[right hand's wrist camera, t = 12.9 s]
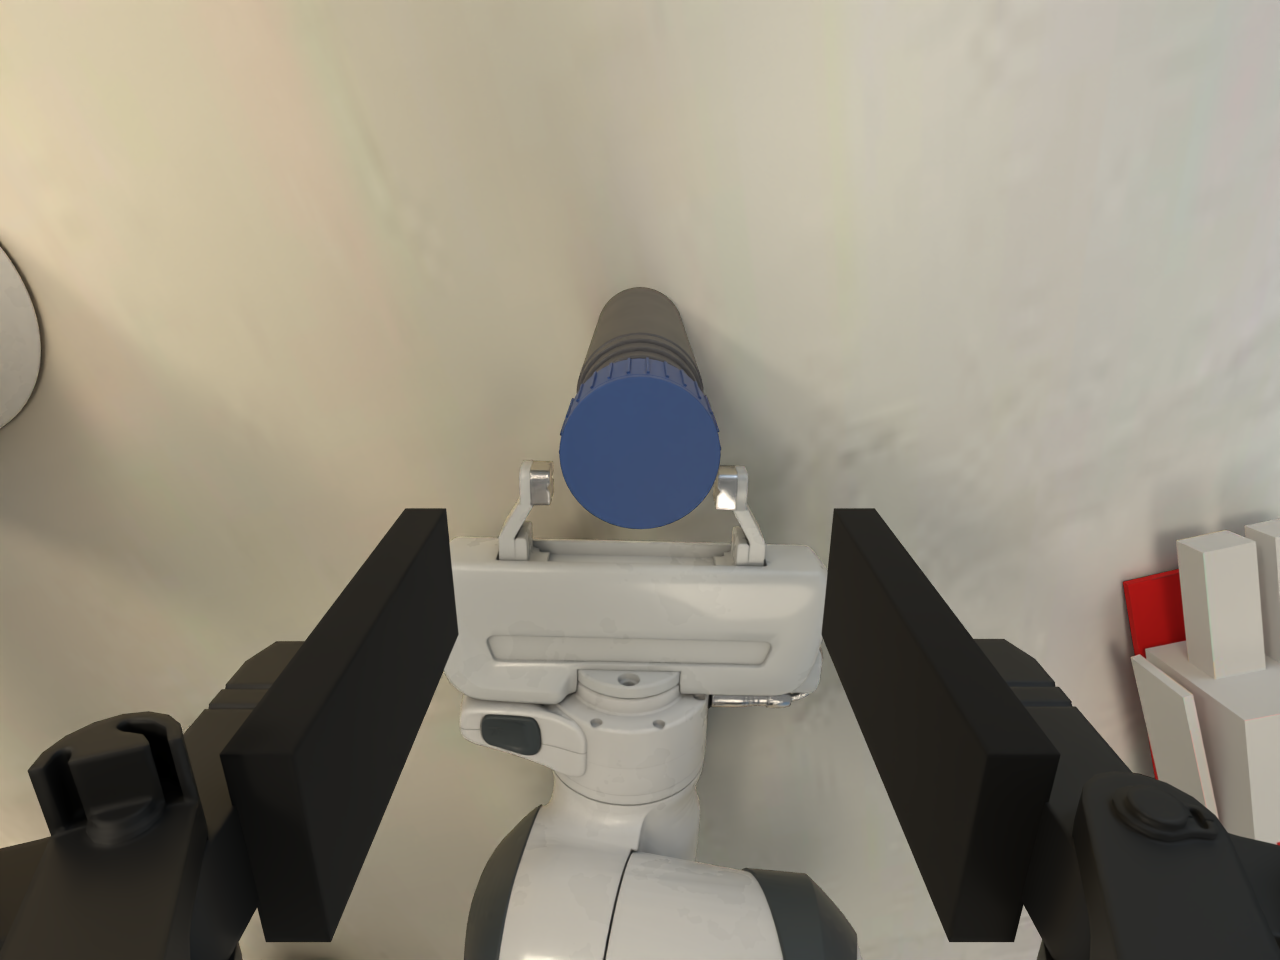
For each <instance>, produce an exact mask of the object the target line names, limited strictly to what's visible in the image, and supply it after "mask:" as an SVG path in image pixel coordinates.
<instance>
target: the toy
mask: <svg viewBox="0 0 1280 960" xmlns="http://www.w3.org/2000/svg"><path fill="white" fill-rule="evenodd" d="M1244 527H1245V537H1243V536H1241V535H1238V534H1236V533H1233V532H1231V531H1228V530H1223V531H1218V532H1213V533H1209V534H1204V535H1199V536H1195V537H1190V538H1186V539H1181V540H1176V546H1177V555H1178V565H1179V569H1176V570H1171V571H1167V572H1163V573H1159V574H1154V575H1150V576H1146V577H1141V578H1137V579H1133V580H1129V581H1124V582H1123V586H1124V593H1125V599H1126V605H1127V611H1128V617H1129V623H1130V629H1131V635H1132V641H1133V647H1134V653H1135V656H1132V657H1131V661H1132V666H1133V670H1134V675H1135V679H1136V683H1137V688H1138V692H1139V696H1140V701H1141V705H1142V710H1143V714H1144V718H1145V723H1146V727H1147V732H1148V738H1149V744H1150V750H1151V757H1152V763H1153V769H1154V775H1155V779H1157V780H1160V781H1163V782H1166V783H1168V784H1170V785H1172V786H1174V787H1176V788H1177V789H1179V790H1181V791H1183V792H1185V793H1187V794H1189V795H1190V796H1192V797H1194V798H1195V799H1196V800H1198V801H1199V802H1200V803H1201V804H1202V805H1204V806H1205V807H1206V808H1207V809H1209V810H1210V811H1211V812H1212V813H1213V814H1215V815H1216V817H1217V818H1218V819H1219V821H1220V822H1221V824H1222V825H1223V827H1224V828H1225V829H1226V831H1227V832H1228V833H1231V834H1234V835H1237V836H1241V837H1246V838H1250V839H1254V840H1259V841H1263V842H1267V843H1272V844H1276V845H1280V518H1278V519H1274V520H1269V521H1264V522H1260V523H1255V524H1250V525H1246V526H1244Z"/></svg>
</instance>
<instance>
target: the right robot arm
mask: <svg viewBox="0 0 1280 960" xmlns="http://www.w3.org/2000/svg"><path fill="white" fill-rule="evenodd" d="M458 635H459V633H458V623H457V613H456V604H455V594H454V584H453V574H452V564H451V554H450V544H449V534H448V524H447V514H446V509H405V510H404V511H403V512H402V514H401V515H400V516H399V518H398V519H397V520H396V522H395V523H394V524H393V526H392V527H391V528H390V530H389V531H388V532H387V533H386V535H385V536H384V537H383V539H382V540H381V541H380V543H379V544H378V545H377V547H376V548H375V549H374V551H373V552H372V553H371V555H370V556H369V557H368V559H367V560H366V561H365V563H364V564H363V565H362V567H361V568H360V569H359V571H358V572H357V573H356V574H355V576H354V577H353V578H352V580H351V581H350V582H349V584H348V585H347V586H346V588H345V589H344V590H343V592H342V593H341V594H340V596H339V597H338V598H337V600H336V601H335V602H334V604H333V605H332V606H331V608H330V609H329V610H328V612H327V613H326V614H325V615H324V617H323V618H322V619H321V621H320V622H319V623H318V625H317V626H316V627H315V629H314V630H313V631H312V633H311V634H310V635H309V637H308V638H307V639H306V641H276V642H275V643H273V644H272V645H270V646H269V647H267V648H265V649H264V650H262V651H261V652H259V653H258V654H256V655H255V656H253V657H252V658H250V659H248V660H247V661H245V663H244V664H243V665H242V666H241V667H240V669H239V670H238V671H237V672H236V673H235V674H234V676H233V677H232V678H231V679H230V680H229V681H228V683H227V684H226V688H225V689H222V690H221V691H220V692H219V693H218V694H217V696H216V697H215V698H214V699H213V700H212V701H211V703H210V704H209V709H205V710H204V711H203V712H202V713H201V714H200V716H199V717H198V718H197V719H196V720H195V721H194V723H193V724H192V725H191V726H190V727H189V728H188V730H187V731H186V732H185V733H184V734H183V733H182V729H181V725H180V723H178V722H177V721H176V720H175V719H173V718H172V717H171V716H169V715H166V714H160V713H154V712H139V713H130V714H122V715H118V716H115V717H111V718H108V719H105V720H101V721H98V722H94V723H92V724H90V725H88V726H86V727H84V728H82V729H79V730H77V731H75V732H73V733H71V734H69V735H67V736H65V737H64V738H62V739H61V740H60V741H58V742H57V743H55V744H54V745H53V746H51V747H50V748H48V749H47V750H46V751H44V752H43V753H42V754H41V755H40V756H39V758H38V759H37V760H36V761H35V762H34V764H33V765H32V766H31V767H30V768H29V770H28V773H29V776H30V779H31V782H32V784H33V787H34V790H35V792H36V795H37V798H38V801H39V803H40V806H41V809H42V812H43V814H44V817H45V820H46V823H47V825H48V828H49V831H50V833H51V837H47V838H44V839H40V840H36V841H31V842H27V843H23V844H18V845H14V846H10V847H5V848H1V849H0V960H242V953H241V950H240V946H239V940H240V938H241V936H242V934H243V932H244V931H245V929H246V927H247V925H248V923H249V921H250V919H251V918H252V916H253V914H254V912H255V910H256V908H258V912H259V916H260V920H261V924H262V928H263V932H264V936H265V940H266V942H331V940H332V938H333V935H334V933H335V930H336V928H337V926H338V923H339V921H340V918H341V916H342V914H343V911H344V909H345V906H346V904H347V902H348V899H349V897H350V894H351V892H352V890H353V887H354V885H355V882H356V880H357V878H358V875H359V873H360V870H361V868H362V866H363V863H364V861H365V858H366V856H367V854H368V851H369V849H370V846H371V844H372V842H373V839H374V837H375V834H376V832H377V829H378V827H379V825H380V822H381V820H382V817H383V815H384V813H385V810H386V808H387V805H388V803H389V801H390V798H391V796H392V793H393V791H394V789H395V786H396V784H397V781H398V779H399V777H400V774H401V772H402V769H403V767H404V765H405V762H406V760H407V757H408V755H409V753H410V750H411V748H412V745H413V743H414V741H415V738H416V736H417V733H418V731H419V728H420V726H421V724H422V721H423V719H424V716H425V714H426V712H427V709H428V707H429V704H430V702H431V700H432V697H433V695H434V692H435V690H436V688H437V685H438V683H439V680H440V678H441V676H442V673H443V671H444V668H445V666H446V664H447V661H448V659H449V656H450V654H451V652H452V649H453V647H454V644H455V642H456V640H457V637H458ZM821 635H822V637H823V640H824V642H825V644H826V647H827V649H828V652H829V654H830V656H831V659H832V661H833V664H834V666H835V668H836V671H837V673H838V676H839V678H840V680H841V683H842V685H843V688H844V690H845V692H846V695H847V697H848V700H849V702H850V704H851V707H852V709H853V712H854V714H855V716H856V719H857V721H858V724H859V726H860V729H861V731H862V733H863V736H864V738H865V741H866V743H867V745H868V748H869V750H870V753H871V755H872V757H873V760H874V762H875V765H876V767H877V769H878V772H879V774H880V777H881V779H882V781H883V784H884V786H885V789H886V791H887V793H888V796H889V798H890V801H891V803H892V805H893V808H894V810H895V813H896V815H897V817H898V820H899V822H900V825H901V827H902V830H903V832H904V834H905V837H906V839H907V842H908V844H909V846H910V849H911V851H912V854H913V856H914V858H915V861H916V863H917V866H918V868H919V870H920V873H921V875H922V878H923V880H924V882H925V885H926V887H927V890H928V892H929V894H930V897H931V899H932V902H933V904H934V906H935V909H936V911H937V914H938V916H939V918H940V921H941V923H942V926H943V928H944V931H945V933H946V935H947V938H948V940H949V942H1014V940H1015V936H1016V932H1017V928H1018V924H1019V920H1020V916H1021V912H1022V908H1023V905H1024V906H1025V908H1026V910H1027V912H1028V914H1029V916H1030V917H1031V919H1032V921H1033V923H1034V925H1035V927H1036V928H1037V930H1038V932H1039V934H1040V936H1041V938H1042V942H1041V946H1040V950H1039V953H1038V957H1037V960H1280V845H1276V844H1272V843H1267V842H1263V841H1259V840H1254V839H1250V838H1246V837H1241V836H1237V835H1234V834H1231V833H1228V832H1227V831H1226V829H1225V828H1224V827H1223V825H1222V824H1221V822H1220V821H1219V819H1218V818H1217V817H1216V815H1215V814H1213V813H1212V812H1211V811H1210V810H1209V809H1207V808H1206V807H1205V806H1204V805H1202V804H1201V803H1200V802H1199V801H1198V800H1196V799H1195V798H1194V797H1192V796H1190V795H1189V794H1187V793H1185V792H1183V791H1181V790H1179V789H1177V788H1176V787H1174V786H1172V785H1170V784H1168V783H1166V782H1163V781H1160V780H1157V779H1154V778H1151V777H1148V776H1145V775H1142V774H1137V773H1132V772H1131V770H1130V769H1129V768H1128V767H1127V766H1126V765H1125V763H1124V762H1123V761H1122V760H1121V759H1120V758H1119V756H1118V755H1117V754H1116V753H1115V752H1114V751H1113V749H1112V748H1111V747H1110V746H1109V745H1108V744H1107V742H1106V741H1105V740H1104V739H1103V738H1102V737H1101V735H1100V734H1099V733H1098V732H1097V731H1096V730H1095V728H1094V727H1093V726H1092V725H1091V724H1090V723H1089V721H1088V720H1087V719H1086V718H1085V717H1084V716H1083V714H1082V713H1081V712H1080V711H1079V710H1078V709H1077V707H1072V704H1071V700H1070V699H1069V698H1068V697H1067V696H1066V695H1065V693H1064V692H1063V691H1062V690H1061V689H1060V688H1059V687H1055V682H1054V681H1053V679H1052V678H1051V677H1050V676H1049V675H1048V674H1047V672H1046V671H1045V670H1044V669H1043V668H1042V667H1041V665H1040V664H1039V663H1038V662H1037V661H1036V660H1035V659H1034V658H1033V657H1031V656H1030V655H1028V654H1027V653H1025V652H1023V651H1022V650H1020V649H1019V648H1017V647H1016V646H1014V645H1013V644H1011V643H1009V642H1008V641H1006V640H1005V639H973V638H972V637H971V635H970V634H969V633H968V631H967V630H966V629H965V627H964V626H963V625H962V623H961V622H960V621H959V619H958V618H957V617H956V615H955V614H954V613H953V612H952V610H951V609H950V608H949V606H948V605H947V604H946V602H945V601H944V600H943V598H942V597H941V596H940V594H939V593H938V592H937V590H936V589H935V588H934V586H933V585H932V584H931V582H930V581H929V580H928V578H927V577H926V576H925V574H924V573H923V572H922V571H921V569H920V568H919V567H918V565H917V564H916V563H915V561H914V560H913V559H912V557H911V556H910V555H909V553H908V552H907V551H906V549H905V548H904V547H903V545H902V544H901V543H900V541H899V540H898V539H897V537H896V536H895V535H894V533H893V532H892V531H891V530H890V528H889V527H888V526H887V524H886V523H885V522H884V520H883V519H882V518H881V516H880V515H879V514H878V512H877V511H876V510H875V509H834V514H833V524H832V534H831V544H830V554H829V564H828V573H827V583H826V593H825V603H824V613H823V623H822V633H821Z"/></svg>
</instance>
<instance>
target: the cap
mask: <svg viewBox="0 0 1280 960" xmlns="http://www.w3.org/2000/svg"><path fill="white" fill-rule="evenodd" d="M717 432H719V429H718V426H717V423H716V420H715V417H714V414H713V412H712V410H711V407H710V404H709V401H708V398H707V396H706V395H705V396H704V394H703V393H702V391H701V390H700V388H699V387H698V384H697V382H696V381H693V380H692V379H691V378H690V377H689V376H687V375H686V374H685V373H684V371H683V370H682V369H681V370H679V369H678V368H676V367H674V366H672V365H670V364H667V362H666V361H664V362H661V361H658V360H652V359H649V358H647V357H646V359H642V358H637V359H630V358H628V359H627V360H623V361H619V362H616V363H610V365H608V366H606V367H604V368H602V369H601V370H599V371H598V372H596V371H595V372H594V374H593V375H592V376H591V377H590V378H589V379H588V380H587V381H586V382H585V383H584V384H583V383H582V384H581V386H580V389H579V391H578V393H577V394H576V396H575V398H572V400H571V403H570V406H569V409H568V412H567V415H566V418H565V421H564V424H563V427H562V430H561V433H560V435H561V442H560V450H559V454H560V464H561V469H562V473H563V477H564V479H565V481H566V484H567V486H568V488H569V489H570V491H571V493H572V494H573V496H574V497H575V498H576V500H577V501H578V502H579V503H580V504H581V505H582V506H583V507H584V508H585V509H586V510H588V511H589V512H590V513H591V514H593V515H594V516H596V517H598V518H599V519H601V520H603V521H605V522H608V523H610V524H613V525H616V526H620V527H624V528H630V529H649V528H656V527H661V526H664V525H667V524H670V523H672V522H675V521H677V520H679V519H681V518H682V517H684V516H686V515H687V514H689V513H690V512H691V511H692V510H694V509H695V508H696V507H697V506H698V505H699V504H700V503H701V502H702V501H703V500H704V498H705V497H706V496H707V494H708V493H709V491H710V489H711V488H712V486H713V484H714V481H715V479H716V476H717V473H718V469H719V465H720V450H721V446H720V442H719V436H718V433H717Z"/></svg>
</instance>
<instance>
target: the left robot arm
mask: <svg viewBox="0 0 1280 960" xmlns="http://www.w3.org/2000/svg"><path fill="white" fill-rule="evenodd" d="M40 359H41V342H40V333H39V326H38V322H37V317H36V314H35V310H34V307H33V304H32V301H31V299H30V296H29V294H28V291H27V289H26V287H25V285H24V283H23V281H22V279H21V277H20V275H19V273H18V272H17V270H16V268H15V267H14V265H13V263H12V262H11V260H10V259H9V257H8V256H7V255H6V253H5V252H4V251H3V249H2V248H1V247H0V428H2V427H3V426H4V425H6V424H7V423H8V422H10V421H11V420H12V419H13V418H14V417H15V416H16V415H17V414H18V413H19V412H20V411H21V409H22V408H23V407H24V405H25V404H26V402H27V401H28V399H29V398H30V396H31V394H32V391H33V389H34V387H35V384H36V381H37V377H38V373H39V367H40ZM553 472H554V465H553V461H533V460H523V462H522V465H521V467H520V476H519V484H520V497H519V498H518V500H517V502H516V503H515V505H514V507H513V508H512V510H511V512H510V513H509V515H508V517H507V518H506V520H505V523H504V525H503V527H502V530H501V532H500V535H499V537H465V536H461V537H455V538H453V539H452V540H451V541H450V542H449V544H450V554H451V564H452V574H453V584H454V594H455V604H456V613H457V623H458V633H459V635H458V637H457V640H456V642H455V644H454V647H453V649H452V652H451V654H450V656H449V659H448V661H447V664H446V666H445V668H444V673H445V675H446V677H447V678H448V680H449V681H450V683H451V684H452V685H453V686H454V687H455V688H456V689H457V690H458V691H460V692H461V693H463V699H462V703H461V710H460V719H459V725H460V732H461V734H462V736H463V737H464V738H465V739H466V740H468V741H470V742H472V743H475V744H478V745H481V746H484V747H488V748H492V749H495V750H499V751H502V752H506V753H509V754H512V755H515V756H519V757H522V758H525V759H527V760H530V761H533V762H536V763H538V764H541V765H543V766H546V767H548V768H550V769H552V771H553V775H554V788H553V793H552V797H551V800H550V802H549V803H548V804H547V805H545V806H543V805H542V804H541V805H539V806H538V807H536V808H535V809H534V810H532V811H531V812H530V813H529V814H528V815H527V816H525V817H524V818H523V819H522V820H521V821H520V822H519V823H518V825H517V826H516V827H515V828H514V829H513V830H512V831H511V832H510V833H509V834H508V835H507V836H506V837H505V838H504V839H503V840H502V841H501V843H500V844H499V845H498V847H497V848H496V849H495V851H494V852H493V854H492V855H491V857H490V859H489V861H488V862H487V864H486V866H485V868H484V870H483V873H482V875H481V877H480V880H479V882H478V885H477V888H476V891H475V894H474V897H473V900H472V904H471V908H470V912H469V917H468V923H467V930H466V939H465V951H464V960H862V957H861V953H860V949H859V946H858V944H857V933H856V932H855V930H854V929H853V927H852V926H851V924H850V923H849V922H848V920H847V919H846V917H845V916H844V915H843V913H842V912H841V911H840V910H839V908H838V907H837V906H836V905H835V904H834V902H833V901H832V900H831V899H830V898H829V897H828V896H827V895H826V893H825V892H824V891H823V890H822V889H821V888H820V887H819V886H818V885H817V884H816V883H815V882H814V881H813V880H812V879H811V878H810V877H809V876H808V875H807V874H805V873H795V872H784V871H773V870H762V869H752V868H744V869H742V870H738V869H732V868H727V867H721V866H716V865H711V864H705V863H700V862H695V858H696V852H697V844H698V835H699V825H700V805H699V798H698V795H697V792H696V788H695V786H696V783H697V781H698V779H699V777H700V775H701V772H702V768H703V764H704V756H705V744H706V731H707V716H708V708H710V707H746V706H757V705H758V706H766V707H768V708H784V707H789V706H790V705H791V701H795V700H799V699H801V698H804V697H806V696H807V695H809V694H810V693H812V692H814V691H815V690H816V689H817V687H818V685H819V681H820V676H821V669H822V661H823V652H822V649H821V647H820V646H821V643H822V639H823V637H822V635H821V633H822V623H823V613H824V603H825V593H826V583H827V573H828V570H827V569H826V567H825V565H824V564H823V562H822V561H821V559H820V558H819V557H818V556H817V554H816V553H815V552H814V551H813V550H812V549H811V548H810V547H808V546H806V545H792V544H766V543H765V541H764V538H763V535H762V532H761V530H760V527H759V525H758V523H757V521H756V519H755V517H754V515H753V514H752V512H751V510H750V508H749V506H748V504H747V492H748V473H747V470H746V468H745V466H732V465H719V469H718V473H717V476H716V479H715V480H716V481H715V482H714V484H713V499H714V501H715V507H716V509H723V510H733V512H734V514H735V516H736V518H737V520H738V522H739V524H740V526H741V527H740V526H735V527H734V528H733V529H732V540H731V543H708V542H666V541H624V540H583V539H542V538H533V533H532V523H531V522H530V521H525V519H526V517H527V516H528V514H529V512H530V511H531V509H532V507H533V505H550V504H551V500H552V497H553V493H554V479H553V478H552V475H553Z"/></svg>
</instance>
